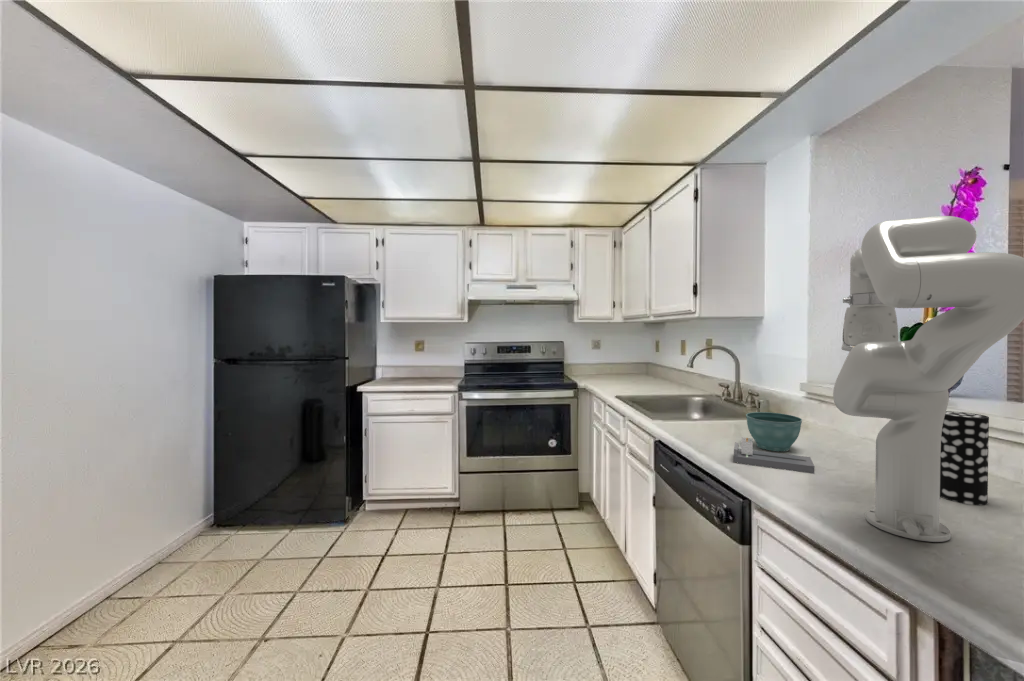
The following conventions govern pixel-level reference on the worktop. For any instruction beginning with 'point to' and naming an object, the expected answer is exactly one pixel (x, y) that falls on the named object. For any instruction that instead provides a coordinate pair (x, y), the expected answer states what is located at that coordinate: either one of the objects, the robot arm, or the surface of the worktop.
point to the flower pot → (773, 430)
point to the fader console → (775, 460)
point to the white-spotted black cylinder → (964, 458)
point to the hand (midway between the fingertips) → (868, 374)
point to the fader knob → (747, 446)
